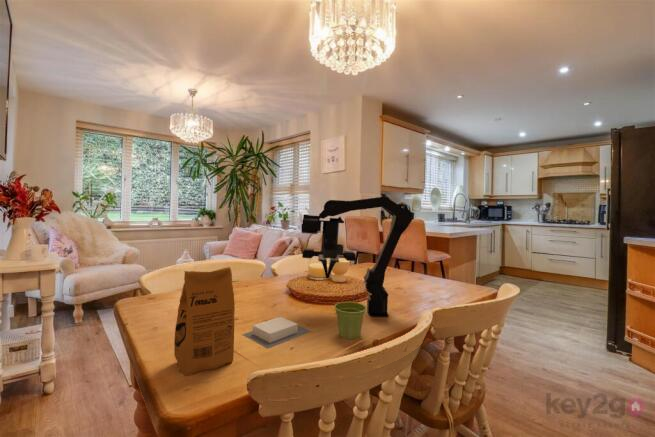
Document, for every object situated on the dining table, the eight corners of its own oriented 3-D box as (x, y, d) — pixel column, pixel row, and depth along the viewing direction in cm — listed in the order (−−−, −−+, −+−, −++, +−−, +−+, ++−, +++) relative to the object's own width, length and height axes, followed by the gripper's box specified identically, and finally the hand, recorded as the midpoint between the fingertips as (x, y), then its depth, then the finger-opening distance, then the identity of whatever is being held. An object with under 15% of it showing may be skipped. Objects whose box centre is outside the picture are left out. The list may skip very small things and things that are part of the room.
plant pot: (356, 346, 82) (357, 314, 81) (327, 337, 87) (328, 307, 86) (370, 334, 89) (371, 305, 89) (343, 327, 94) (344, 299, 94)
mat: (285, 321, 98) (285, 320, 98) (311, 332, 90) (311, 331, 90) (242, 335, 86) (242, 334, 86) (267, 349, 78) (267, 348, 78)
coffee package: (171, 360, 71) (173, 267, 70) (225, 347, 78) (226, 263, 78) (178, 380, 63) (180, 276, 62) (237, 364, 70) (239, 270, 69)
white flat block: (280, 316, 93) (252, 325, 86) (297, 323, 88) (270, 333, 81) (280, 325, 93) (252, 334, 86) (297, 332, 88) (269, 343, 81)
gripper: (303, 235, 99) (300, 282, 99) (359, 238, 100) (356, 285, 100) (304, 232, 110) (301, 275, 110) (354, 236, 111) (351, 278, 111)
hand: (327, 278), depth 108 cm, fingers closed
